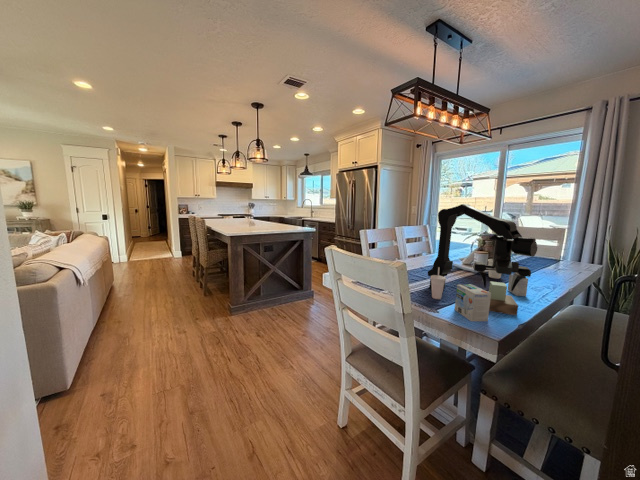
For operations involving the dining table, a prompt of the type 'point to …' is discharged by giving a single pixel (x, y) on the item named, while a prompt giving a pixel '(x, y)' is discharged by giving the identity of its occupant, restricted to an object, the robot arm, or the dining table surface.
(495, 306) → the walnut riser block
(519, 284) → the medicine box
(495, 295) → the sage block
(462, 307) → the light bulb box
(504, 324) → the dining table surface
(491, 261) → the dixie cup
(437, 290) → the smoothie
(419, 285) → the dining table surface
